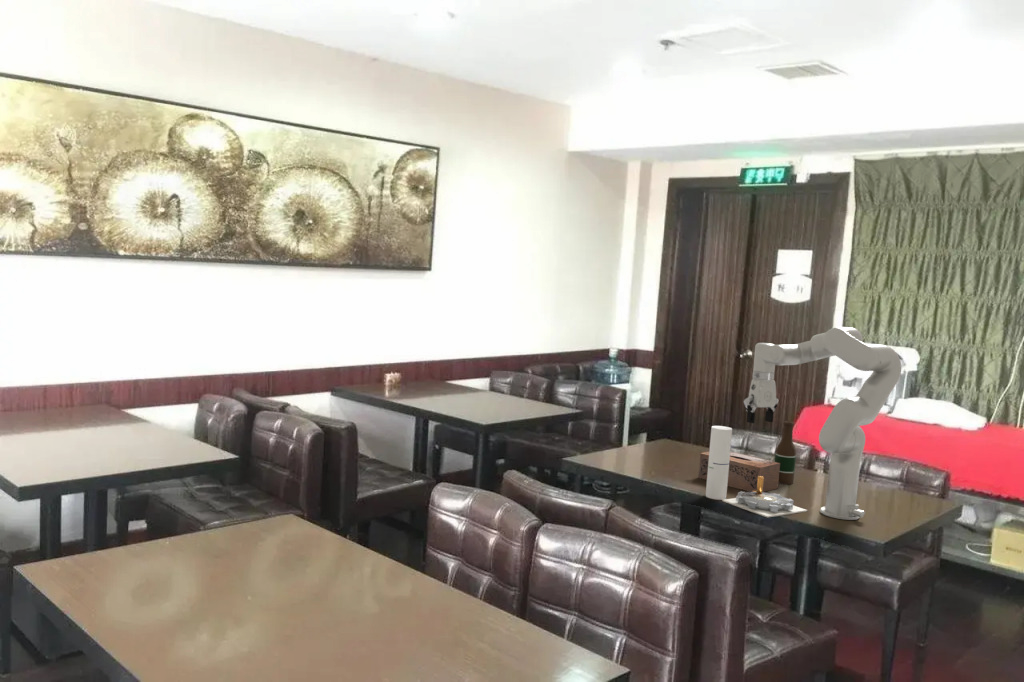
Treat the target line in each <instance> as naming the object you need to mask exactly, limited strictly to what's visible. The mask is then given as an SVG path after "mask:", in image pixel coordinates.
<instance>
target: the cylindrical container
mask: <svg viewBox="0 0 1024 682" xmlns="http://www.w3.org/2000/svg"><path fill="white" fill-rule="evenodd" d="M732 435H733V428H732V427H729V426H724V425H712V426H711V429H710V439H709V441H710V442H709V451H708V452H709V462H708V474H707V480H706V486H705V487H706V488H705V497H706V498H708V499H711V500H719V501H720V500H724V499H727V494H728V493H727V492H728V485H727V483H728V471H729V460H730V452H731V449H732V448H731V446H732V438H733V437H732Z"/></svg>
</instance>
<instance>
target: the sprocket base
mask: <svg viewBox="0 0 1024 682" xmlns="http://www.w3.org/2000/svg"><path fill="white" fill-rule="evenodd" d="M722 502H724V503H727V504H729V505H732V506H735V507H737V508H739V509H743V510H745V511H748V512H751V513H753V514H756V515H759V516H762V517H765V518H772V517H774V518H775V517H779V516H785V515H794V514H799V513H805V512H808V509H805V508H802V507H799V506H796V505H794V504H793V510H790V511H788V510H779V511H778V512H773V511H769V510H763V509H758V508H756V509H753V508H749V507H748V506H747V505H745V504H743V503H738V502H737V501H736V497H733V498H726V499H723V500H722Z"/></svg>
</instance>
